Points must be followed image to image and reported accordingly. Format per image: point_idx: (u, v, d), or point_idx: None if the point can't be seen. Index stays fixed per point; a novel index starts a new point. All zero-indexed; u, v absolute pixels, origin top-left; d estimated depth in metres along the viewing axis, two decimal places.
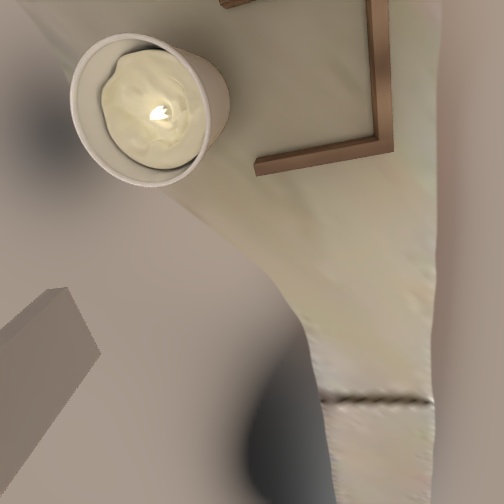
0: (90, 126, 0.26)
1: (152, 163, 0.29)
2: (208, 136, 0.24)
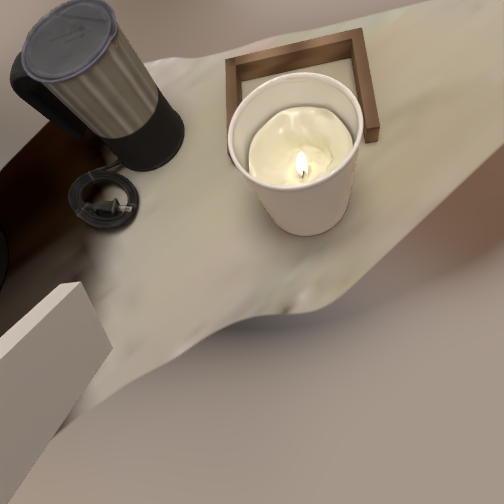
0: None
1: None
2: None
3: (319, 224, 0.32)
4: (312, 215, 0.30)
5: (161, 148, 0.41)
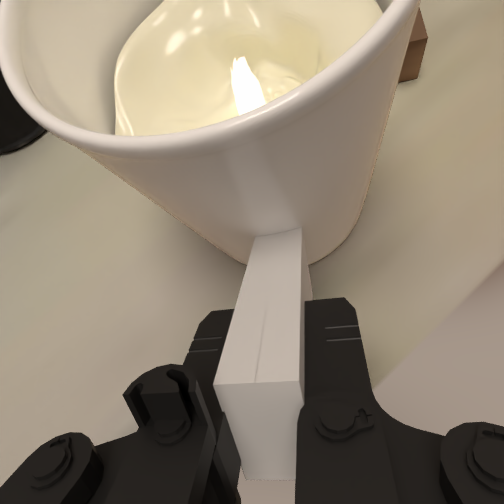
0: None
1: None
2: None
3: None
4: None
5: (18, 110, 0.22)
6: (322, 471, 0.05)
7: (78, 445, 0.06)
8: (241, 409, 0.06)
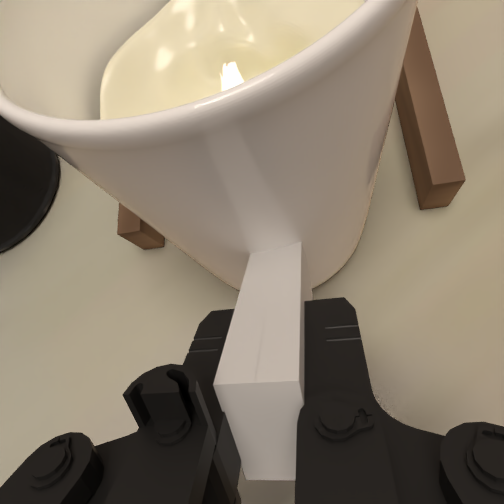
0: None
1: None
2: None
3: None
4: None
5: None
6: (322, 471, 0.05)
7: (78, 445, 0.06)
8: (241, 409, 0.06)
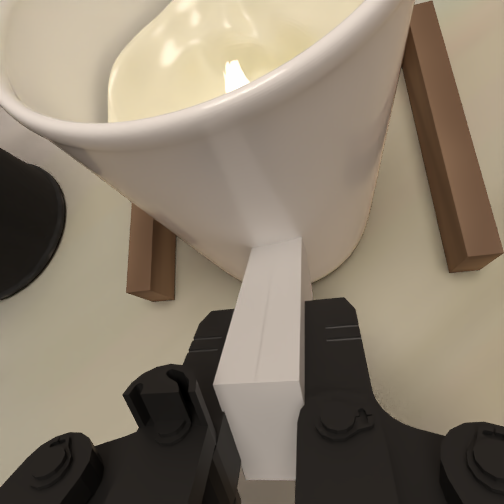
0: None
1: None
2: None
3: None
4: None
5: (0, 269, 0.19)
6: (322, 471, 0.05)
7: (78, 445, 0.06)
8: (241, 409, 0.06)
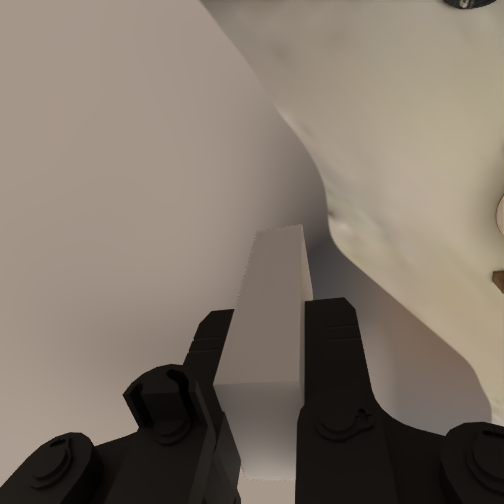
0: None
1: None
2: None
3: None
4: None
5: None
6: (322, 471, 0.05)
7: (78, 445, 0.06)
8: (241, 409, 0.06)
